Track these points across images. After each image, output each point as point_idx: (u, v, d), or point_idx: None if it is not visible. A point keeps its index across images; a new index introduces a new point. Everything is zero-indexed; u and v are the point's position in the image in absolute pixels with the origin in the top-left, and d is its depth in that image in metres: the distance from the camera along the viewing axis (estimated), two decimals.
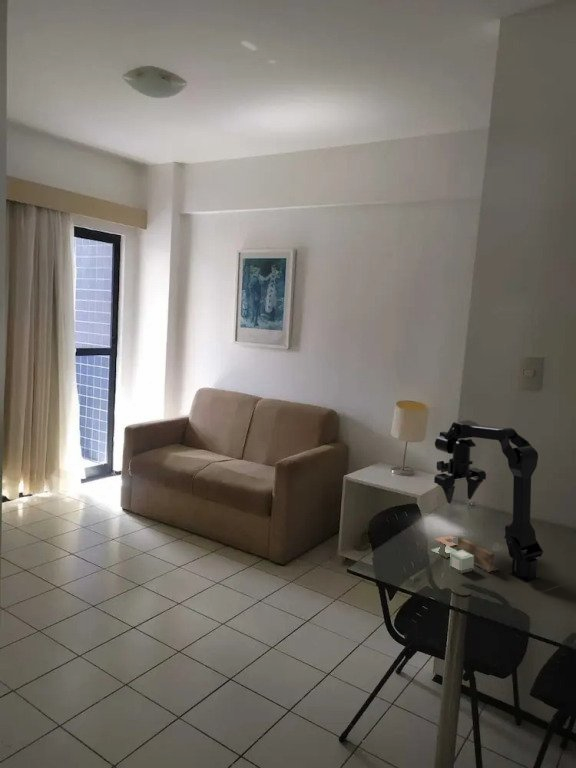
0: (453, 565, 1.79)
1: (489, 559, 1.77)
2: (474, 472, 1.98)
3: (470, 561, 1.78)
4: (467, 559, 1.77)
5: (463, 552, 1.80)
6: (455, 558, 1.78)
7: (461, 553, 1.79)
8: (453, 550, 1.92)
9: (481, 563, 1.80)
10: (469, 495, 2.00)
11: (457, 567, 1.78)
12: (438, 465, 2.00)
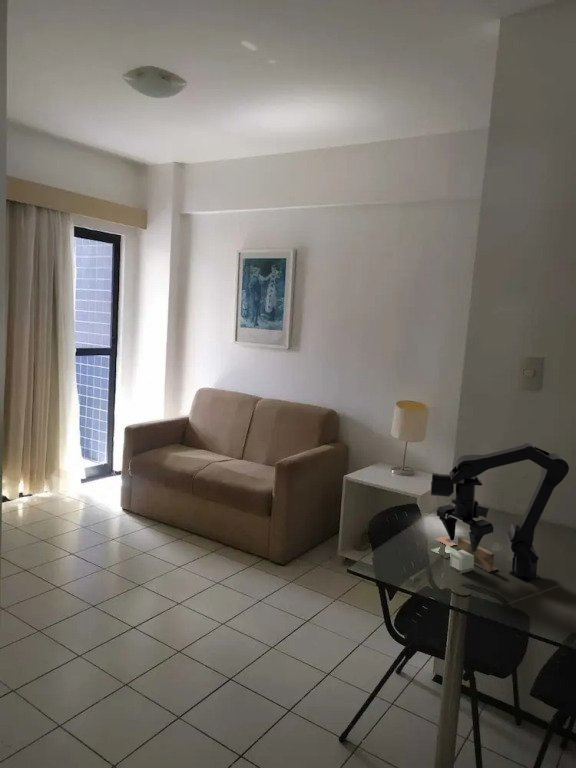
0: (453, 565, 1.79)
1: (489, 559, 1.77)
2: None
3: (470, 561, 1.78)
4: (467, 559, 1.77)
5: (463, 552, 1.80)
6: (455, 558, 1.78)
7: (461, 553, 1.79)
8: (453, 550, 1.92)
9: (481, 563, 1.80)
10: None
11: (457, 567, 1.78)
12: None
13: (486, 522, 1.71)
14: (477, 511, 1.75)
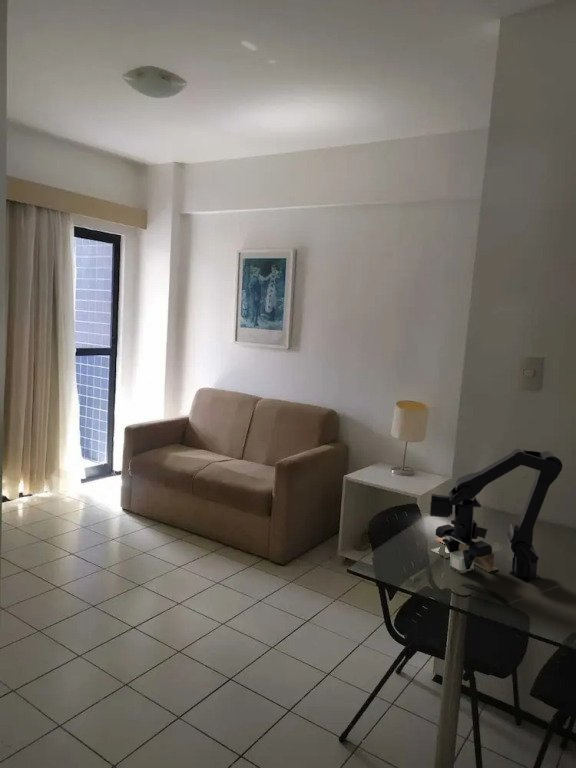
0: (453, 565, 1.79)
1: (489, 559, 1.77)
2: None
3: None
4: None
5: None
6: (455, 558, 1.78)
7: (461, 553, 1.79)
8: None
9: (481, 563, 1.80)
10: None
11: (457, 567, 1.78)
12: None
13: (485, 544, 1.72)
14: (476, 532, 1.76)
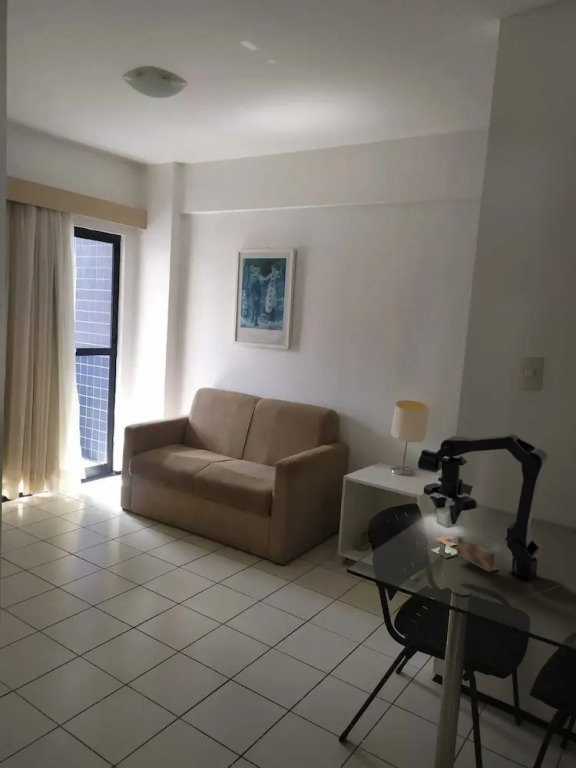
0: (440, 520, 1.88)
1: (489, 559, 1.77)
2: None
3: None
4: None
5: (449, 508, 1.89)
6: (441, 513, 1.87)
7: (447, 509, 1.88)
8: (453, 550, 1.92)
9: (481, 563, 1.80)
10: None
11: (443, 521, 1.87)
12: None
13: (470, 498, 1.81)
14: (461, 488, 1.86)
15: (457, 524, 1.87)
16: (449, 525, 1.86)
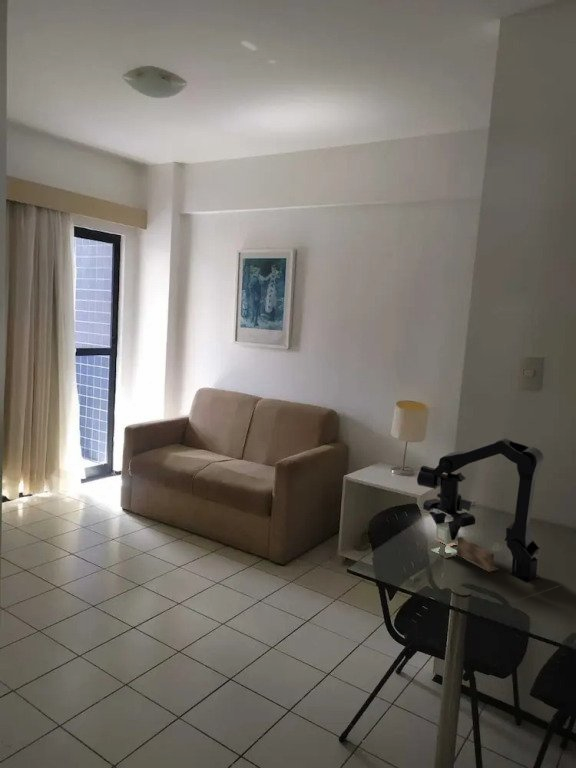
0: (439, 536, 1.90)
1: (489, 559, 1.77)
2: None
3: None
4: None
5: None
6: (441, 529, 1.89)
7: (447, 524, 1.90)
8: (453, 550, 1.92)
9: (481, 563, 1.80)
10: None
11: (443, 537, 1.88)
12: None
13: (468, 514, 1.83)
14: (460, 504, 1.87)
15: (456, 540, 1.89)
16: (448, 541, 1.87)
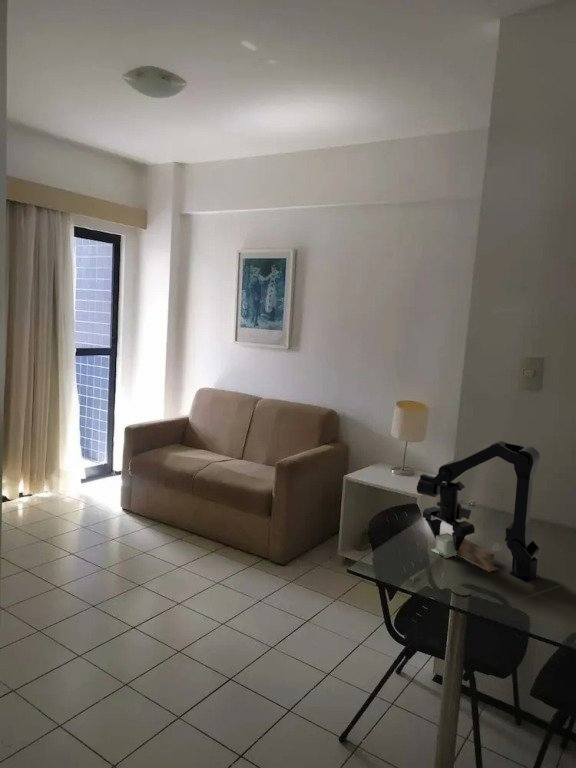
0: (438, 547, 1.90)
1: (489, 559, 1.77)
2: None
3: None
4: (451, 541, 1.88)
5: (448, 535, 1.91)
6: (440, 541, 1.90)
7: (446, 536, 1.91)
8: None
9: (481, 563, 1.80)
10: None
11: (442, 549, 1.89)
12: None
13: (468, 523, 1.83)
14: (460, 513, 1.88)
15: (456, 551, 1.90)
16: (447, 553, 1.88)
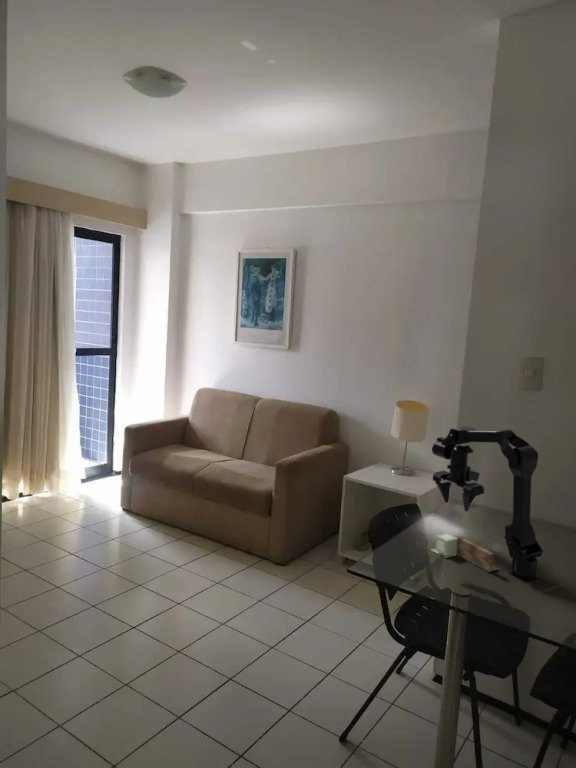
0: (438, 547, 1.90)
1: (489, 559, 1.77)
2: None
3: (454, 543, 1.89)
4: (451, 541, 1.88)
5: (448, 535, 1.91)
6: (440, 541, 1.90)
7: (446, 536, 1.91)
8: None
9: (481, 563, 1.80)
10: None
11: (442, 549, 1.89)
12: None
13: (478, 484, 1.91)
14: (469, 475, 1.95)
15: (456, 551, 1.90)
16: (447, 553, 1.88)
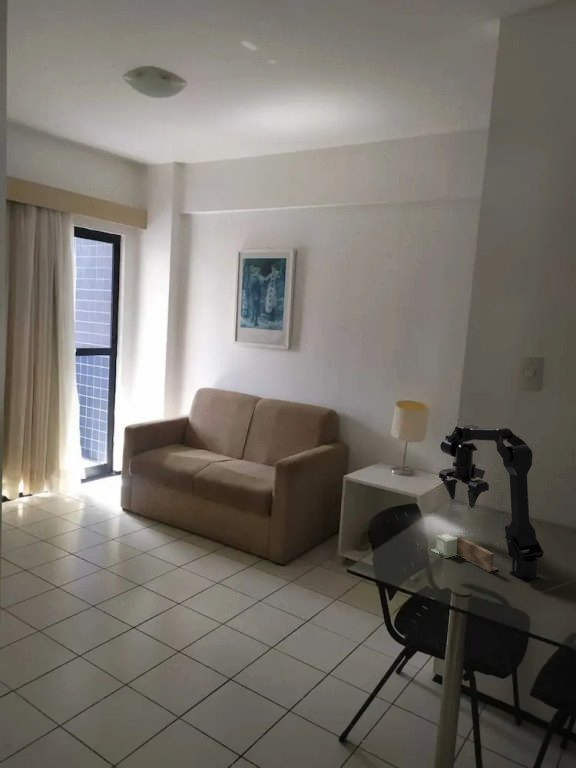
0: (438, 547, 1.90)
1: (489, 559, 1.77)
2: None
3: (454, 543, 1.89)
4: (451, 541, 1.88)
5: (448, 535, 1.91)
6: (440, 541, 1.90)
7: (446, 536, 1.91)
8: None
9: (481, 563, 1.80)
10: None
11: (442, 549, 1.89)
12: None
13: (482, 481, 1.95)
14: (475, 472, 2.00)
15: (456, 551, 1.90)
16: (447, 553, 1.88)
